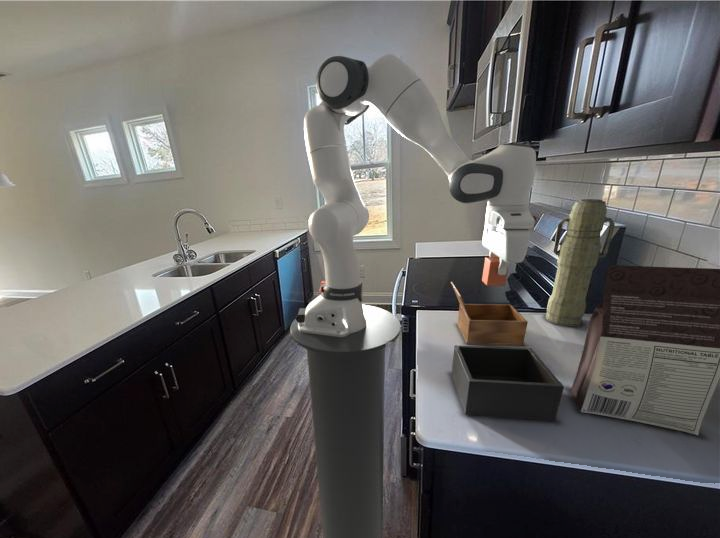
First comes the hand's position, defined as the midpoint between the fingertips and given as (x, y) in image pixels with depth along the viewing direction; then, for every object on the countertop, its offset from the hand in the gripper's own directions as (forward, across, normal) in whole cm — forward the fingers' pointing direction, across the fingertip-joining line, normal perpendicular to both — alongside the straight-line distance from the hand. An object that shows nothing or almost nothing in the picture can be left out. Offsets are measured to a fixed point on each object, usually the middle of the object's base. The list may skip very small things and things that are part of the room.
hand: (497, 271), depth 82 cm
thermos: (+19, -12, +25) cm, 34 cm away
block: (+3, 0, 0) cm, 3 cm away
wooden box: (+19, -2, +1) cm, 19 cm away
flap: (+9, -2, -8) cm, 12 cm away
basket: (+19, +26, -6) cm, 33 cm away
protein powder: (+19, +29, +16) cm, 38 cm away
